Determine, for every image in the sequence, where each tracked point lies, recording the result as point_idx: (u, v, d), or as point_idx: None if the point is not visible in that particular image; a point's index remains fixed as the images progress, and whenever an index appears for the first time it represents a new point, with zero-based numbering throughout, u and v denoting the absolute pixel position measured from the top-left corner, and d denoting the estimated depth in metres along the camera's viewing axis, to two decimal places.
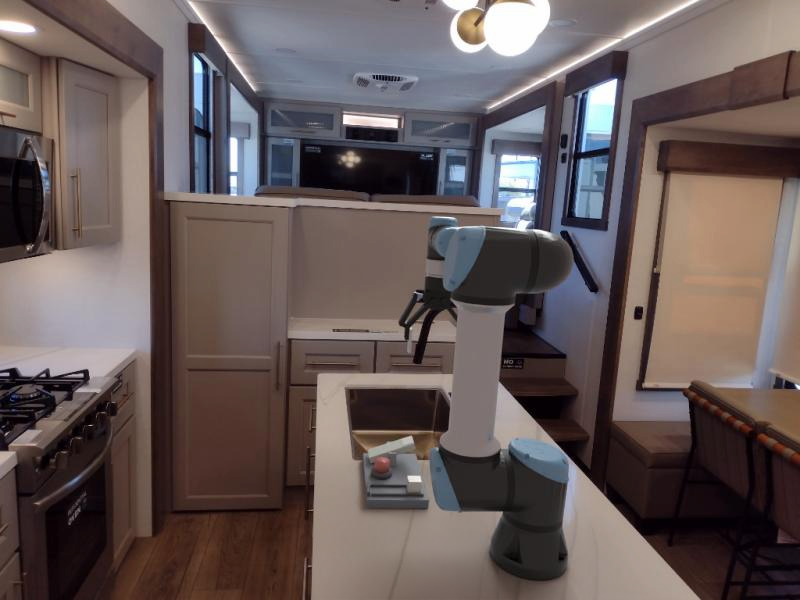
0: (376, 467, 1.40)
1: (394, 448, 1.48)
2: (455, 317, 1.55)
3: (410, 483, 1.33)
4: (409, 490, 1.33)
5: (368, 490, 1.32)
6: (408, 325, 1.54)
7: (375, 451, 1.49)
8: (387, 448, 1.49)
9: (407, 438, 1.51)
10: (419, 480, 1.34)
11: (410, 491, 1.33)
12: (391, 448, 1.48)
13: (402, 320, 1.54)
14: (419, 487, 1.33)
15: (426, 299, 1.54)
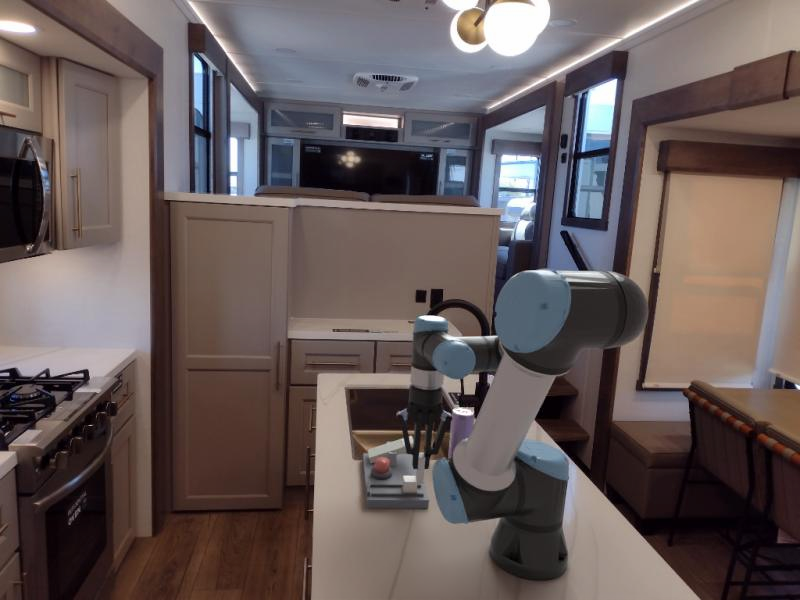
0: (376, 467, 1.40)
1: (394, 448, 1.48)
2: (428, 437, 1.32)
3: (406, 483, 1.33)
4: (405, 490, 1.33)
5: (368, 490, 1.32)
6: (416, 453, 1.32)
7: (375, 451, 1.49)
8: (387, 448, 1.49)
9: None
10: (415, 480, 1.33)
11: (406, 491, 1.33)
12: (391, 448, 1.48)
13: (407, 447, 1.32)
14: (415, 487, 1.33)
15: (413, 412, 1.30)
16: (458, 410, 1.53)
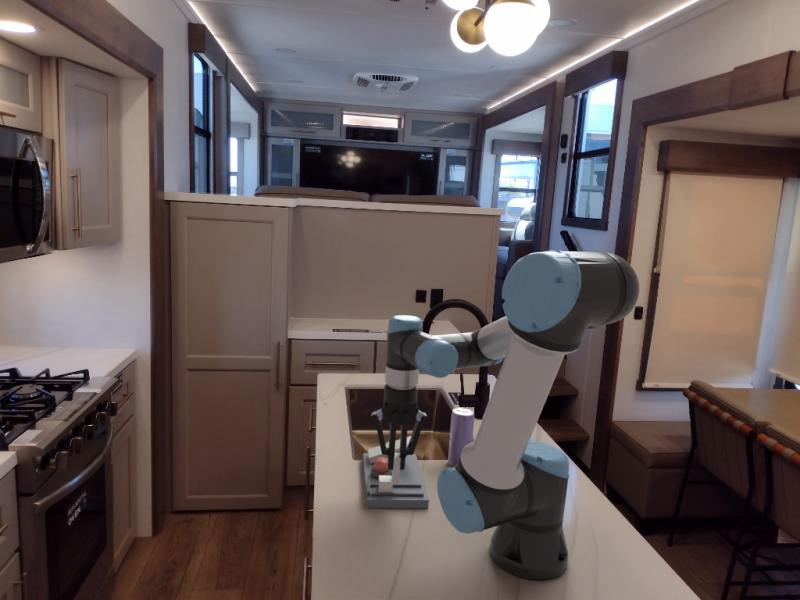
0: (376, 467, 1.40)
1: None
2: (403, 438, 1.31)
3: (381, 483, 1.32)
4: (380, 490, 1.32)
5: (368, 490, 1.32)
6: (391, 453, 1.31)
7: (375, 451, 1.49)
8: None
9: (407, 438, 1.51)
10: (390, 480, 1.33)
11: (381, 491, 1.32)
12: None
13: (382, 448, 1.31)
14: (390, 487, 1.32)
15: (387, 412, 1.30)
16: (458, 410, 1.53)
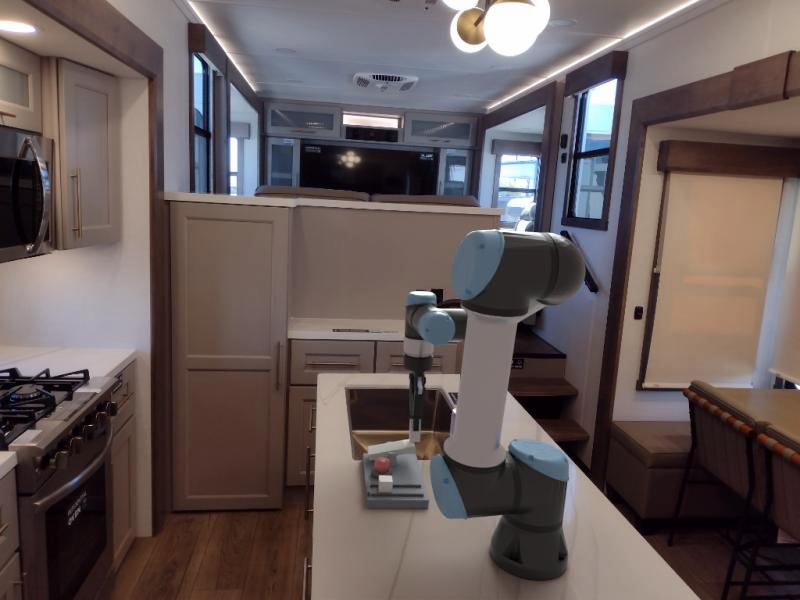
0: (376, 467, 1.40)
1: (395, 448, 1.48)
2: (412, 400, 1.47)
3: (381, 483, 1.32)
4: (380, 490, 1.32)
5: (368, 490, 1.32)
6: (410, 410, 1.50)
7: (375, 449, 1.49)
8: (387, 448, 1.49)
9: (408, 440, 1.51)
10: (390, 480, 1.33)
11: (381, 491, 1.32)
12: (392, 448, 1.48)
13: (409, 403, 1.52)
14: (390, 487, 1.32)
15: None
16: None
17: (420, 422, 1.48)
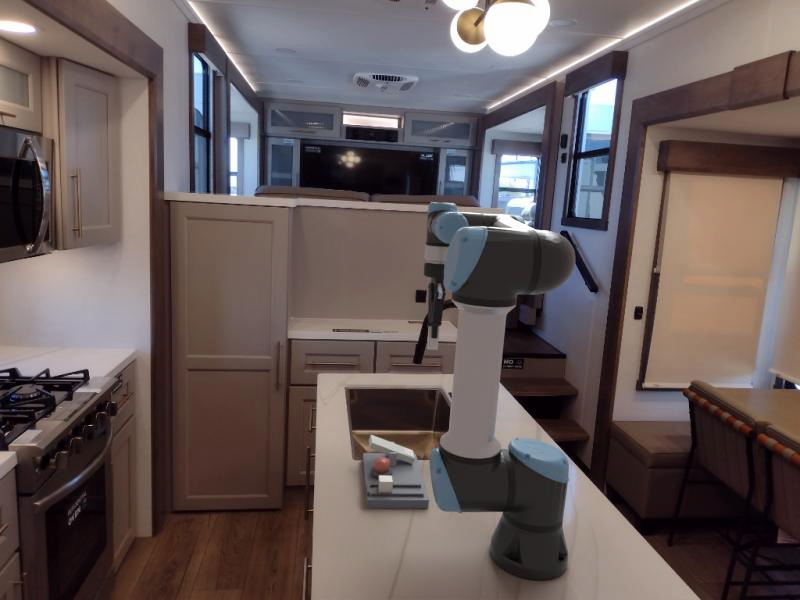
0: (376, 467, 1.40)
1: (396, 450, 1.48)
2: (431, 308, 1.53)
3: (381, 483, 1.32)
4: (380, 490, 1.32)
5: (368, 490, 1.32)
6: (429, 320, 1.56)
7: (378, 441, 1.49)
8: (389, 446, 1.49)
9: (409, 450, 1.51)
10: (390, 480, 1.33)
11: (381, 491, 1.32)
12: (393, 448, 1.48)
13: (428, 314, 1.58)
14: (390, 487, 1.32)
15: None
16: None
17: (438, 330, 1.55)
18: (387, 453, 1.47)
